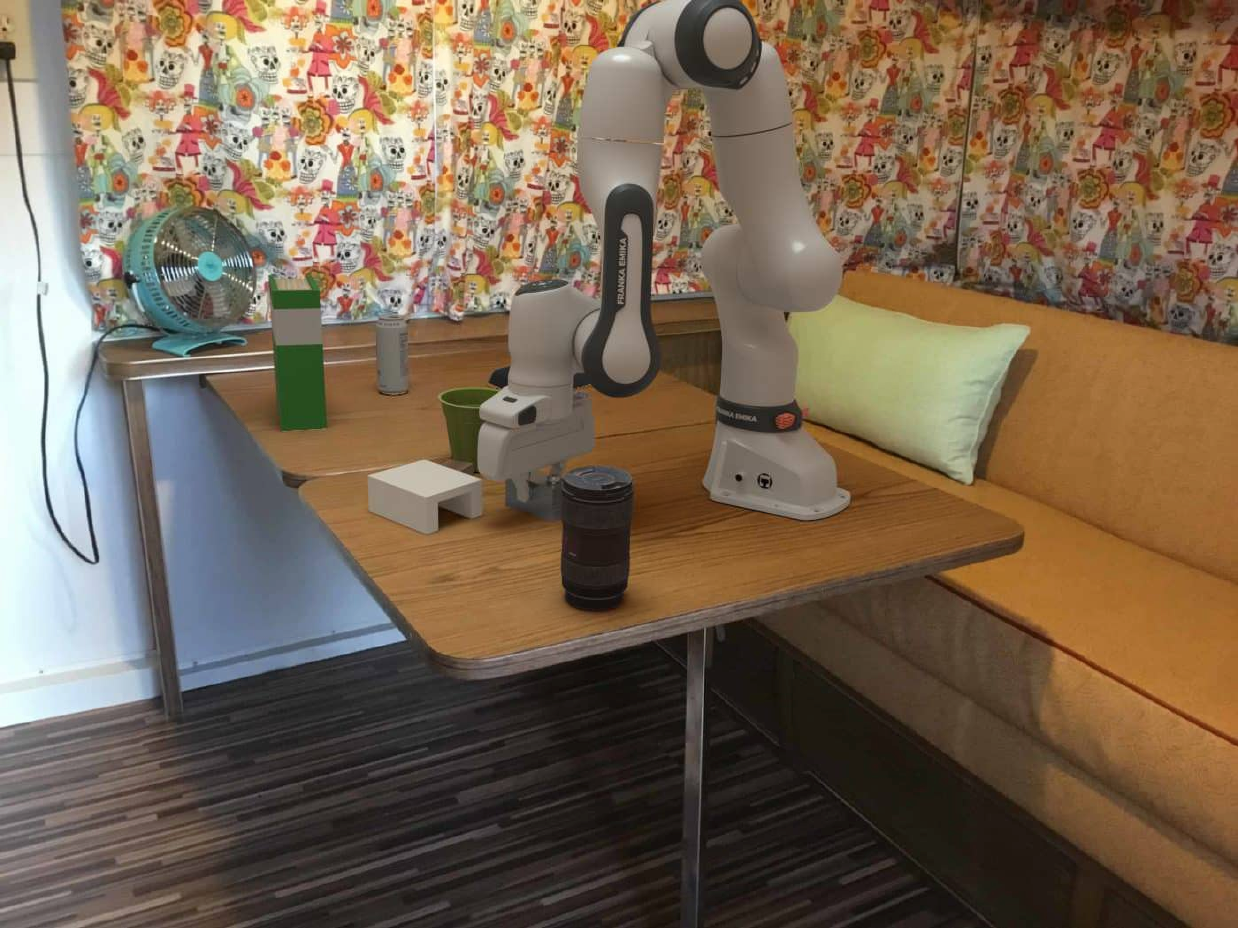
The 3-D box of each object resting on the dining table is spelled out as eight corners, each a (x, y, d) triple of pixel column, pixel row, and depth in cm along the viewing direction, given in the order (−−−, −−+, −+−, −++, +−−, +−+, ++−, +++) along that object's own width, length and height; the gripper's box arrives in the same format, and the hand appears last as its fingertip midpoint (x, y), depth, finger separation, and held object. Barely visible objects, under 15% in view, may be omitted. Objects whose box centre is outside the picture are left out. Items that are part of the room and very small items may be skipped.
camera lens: (544, 596, 118) (546, 474, 113) (595, 577, 124) (599, 459, 119) (591, 621, 113) (596, 493, 108) (643, 600, 118) (649, 478, 114)
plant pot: (458, 482, 153) (457, 410, 150) (426, 460, 163) (425, 391, 159) (528, 471, 160) (528, 401, 156) (493, 450, 169) (493, 384, 166)
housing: (571, 515, 143) (572, 476, 141) (551, 522, 140) (552, 482, 138) (524, 498, 148) (525, 461, 147) (505, 505, 146) (505, 467, 144)
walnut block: (473, 488, 152) (473, 463, 150) (460, 497, 148) (460, 471, 147) (449, 484, 153) (449, 459, 151) (436, 493, 149) (435, 467, 148)
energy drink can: (382, 387, 204) (379, 313, 199) (412, 389, 204) (410, 314, 199) (374, 395, 199) (371, 318, 194) (404, 396, 198) (402, 320, 194)
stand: (482, 514, 141) (482, 479, 140) (426, 534, 134) (425, 497, 132) (424, 493, 149) (424, 459, 147) (368, 511, 141) (367, 475, 139)
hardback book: (276, 405, 189) (268, 274, 182) (318, 403, 192) (311, 274, 184) (281, 432, 174) (272, 291, 166) (327, 429, 176) (319, 290, 169)
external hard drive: (484, 387, 210) (484, 367, 209) (557, 375, 223) (557, 356, 221) (523, 401, 201) (523, 380, 200) (597, 387, 214) (597, 368, 212)
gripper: (573, 383, 149) (571, 473, 153) (469, 409, 134) (470, 507, 138) (607, 391, 145) (603, 483, 149) (503, 418, 130) (503, 520, 134)
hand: (538, 495), depth 144 cm, fingers closed on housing, 4 cm apart
